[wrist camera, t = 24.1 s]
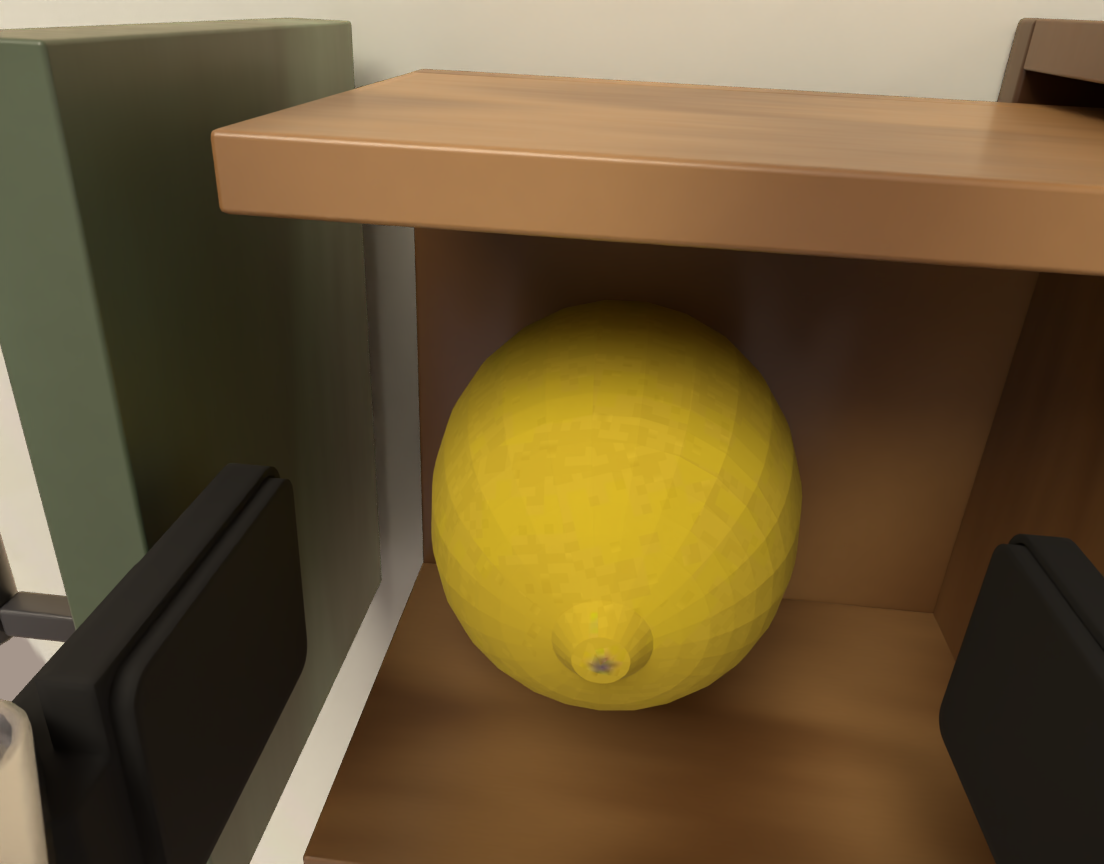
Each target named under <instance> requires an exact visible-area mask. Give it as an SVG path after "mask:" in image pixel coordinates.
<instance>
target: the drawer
mask: <svg viewBox="0 0 1104 864" xmlns="http://www.w3.org/2000/svg"><path fill="white" fill-rule="evenodd" d="M362 224H373V225H387V226H401V227H414V241H415V277H416V313H417V350H418V386H419V423H420V459H421V495H422V532H423V564H422V566H421V569H420V571H419V574H418V576H417V579H416V581H415V583H414V586H413V588H412V591H411V593H410V596H409V598H408V601H407V603H406V606H405V608H404V610H403V613H402V615H401V618H400V620H399V623H398V625H397V628H396V630H395V633H394V635H393V637H392V640H391V642H390V645H389V647H388V650H387V652H386V655H385V657H384V660H383V662H382V665H381V667H380V669H379V672H378V674H377V677H376V679H375V682H374V684H373V687H372V689H371V692H370V694H369V696H368V699H367V701H366V704H365V706H364V709H363V711H362V714H361V716H360V719H359V721H358V723H357V726H356V728H355V731H354V733H353V736H352V738H351V741H350V743H349V746H348V748H347V750H346V753H345V755H344V758H343V760H342V763H341V765H340V768H339V770H338V773H337V775H336V778H335V780H334V782H333V785H332V787H331V790H330V792H329V795H328V797H327V800H326V802H325V805H324V807H323V809H322V812H321V814H320V817H319V819H318V822H317V824H316V827H315V829H314V832H313V834H312V836H311V839H310V841H309V844H308V846H307V849H306V851H305V854H304V856H303V861H304V864H996V863H995V860H994V858H993V856H992V853H991V851H990V849H989V846H988V844H987V842H986V839H985V837H984V835H983V832H982V830H981V828H980V825H979V823H978V821H977V818H976V816H975V814H974V811H973V809H972V807H971V804H970V802H969V800H968V797H967V795H966V793H965V790H964V788H963V786H962V783H961V781H960V779H959V776H958V774H957V772H956V769H955V767H954V765H953V762H952V760H951V758H950V755H949V753H948V751H947V748H946V746H945V744H944V741H943V739H942V736H941V733H940V727H939V711H940V707H941V703H942V700H943V697H944V694H945V691H946V689H947V686H948V683H949V680H950V677H951V674H952V671H953V668H954V665H955V662H956V659H957V656H958V653H959V650H960V647H961V645H962V642H963V639H964V636H965V633H966V630H967V627H968V624H969V621H970V618H971V615H972V612H973V609H974V606H975V603H976V601H977V598H978V595H979V592H980V589H981V586H982V583H983V580H984V577H985V574H986V571H987V568H988V565H989V562H990V559H991V556H992V554H993V552H994V550H995V548H996V547H997V546H998V545H1000V544H1008V543H1009V541H1010V540H1011V539H1012V538H1013V537H1014V536H1015V535H1017V534H1030V535H1042V536H1053V537H1064V538H1069V539H1071V540H1072V541H1073V542H1075V543H1076V545H1077V546H1078V547H1079V548H1080V549H1081V550H1082V552H1083V553H1084V554H1085V555H1086V556H1087V558H1088V559H1089V560H1090V561H1091V562H1092V564H1093V565H1094V566H1095V567H1096V568H1097V570H1098V571H1099V572H1100V573H1101V574H1102V576H1103V577H1104V108H1091V107H1074V106H1057V105H1039V104H1022V103H1005V102H987V101H970V100H953V99H936V98H918V97H901V96H884V95H866V94H849V93H832V92H814V91H797V90H780V89H762V88H745V87H728V86H710V85H693V84H676V83H658V82H641V81H624V80H606V79H589V78H572V77H555V76H537V75H520V74H503V73H485V72H468V71H451V70H433V69H421V70H417V71H414V72H411V73H408V74H404V75H401V76H397V77H394V78H390V79H387V80H383V81H380V82H376V83H373V84H370V85H366V86H363V87H359V88H356V89H355V84H354V66H353V47H352V29H351V23H350V22H349V21H340V20H321V19H303V18H271V19H247V20H222V21H197V22H173V23H148V24H123V25H99V26H74V27H50V28H25V29H0V345H1V349H2V353H3V356H4V360H5V364H6V368H7V372H8V375H9V379H10V383H11V387H12V391H13V394H14V398H15V402H16V406H17V410H18V413H19V417H20V421H21V425H22V429H23V432H24V436H25V440H26V444H27V448H28V451H29V455H30V459H31V463H32V467H33V470H34V474H35V478H36V482H37V486H38V489H39V493H40V497H41V501H42V504H43V508H44V512H45V516H46V520H47V523H48V527H49V531H50V535H51V539H52V542H53V546H54V550H55V554H56V558H57V561H58V565H59V569H60V573H61V577H62V580H63V584H64V588H65V592H66V596H61V595H51V594H42V593H32V592H23V591H21V592H18V591H17V588H16V584H15V581H14V578H13V574H12V571H11V568H10V564H9V561H8V557H7V554H6V551H5V547H4V544H3V540H2V537H1V534H0V645H1V644H3V643H5V642H7V641H8V640H10V639H11V638H12V637H13V636H15V637H24V638H33V639H42V640H51V641H60V642H66V641H67V640H68V639H69V637H70V636H71V635H72V634H73V633H74V632H75V631H76V630H77V629H78V627H79V626H80V625H81V624H82V623H83V622H84V621H85V620H86V619H87V617H88V616H89V615H90V614H91V613H92V612H93V611H94V610H95V609H96V607H97V606H98V605H99V604H100V603H101V602H102V601H103V600H104V599H105V597H106V596H107V595H108V594H109V593H110V592H111V591H112V590H113V589H114V587H115V586H116V585H117V584H118V583H119V582H120V581H121V580H122V579H123V577H124V576H125V575H126V574H127V573H128V572H129V571H130V570H131V569H132V567H133V566H134V565H136V564H137V563H138V562H139V561H140V560H141V559H142V558H143V557H144V556H145V555H146V553H147V552H148V551H149V550H150V549H151V548H152V547H153V546H154V544H155V543H156V542H157V541H158V540H159V539H160V538H161V537H162V536H163V534H164V533H165V532H166V531H167V530H168V529H169V528H170V527H171V526H172V524H173V523H174V522H175V521H176V520H177V519H178V518H179V517H180V516H181V514H182V513H183V512H184V511H185V510H186V509H187V508H188V507H189V506H190V504H191V503H192V502H193V501H194V500H195V499H196V498H197V497H198V495H199V494H200V493H201V492H202V491H203V490H204V489H205V488H206V487H207V485H208V484H209V483H210V482H211V481H212V480H213V479H214V478H215V477H216V475H217V474H218V473H219V472H220V471H221V470H222V469H223V468H224V467H225V466H226V465H227V464H229V463H239V464H250V465H261V466H272V467H275V468H276V469H277V471H278V473H279V475H280V478H281V479H289V480H290V481H291V484H292V486H293V493H294V504H295V514H296V525H297V536H298V547H299V557H300V568H301V579H302V590H303V600H304V611H305V622H306V632H307V656H306V662H305V665H304V668H303V671H302V673H301V675H300V677H299V679H298V681H297V683H296V685H295V687H294V689H293V691H292V693H291V695H290V697H289V699H288V701H287V703H286V705H285V707H284V709H283V711H282V713H281V715H280V717H279V719H278V721H277V723H276V725H275V727H274V729H273V731H272V733H271V735H270V737H269V739H268V741H267V743H266V745H265V747H264V749H263V751H262V753H261V755H260V757H259V759H258V761H257V763H256V765H255V767H254V769H253V771H252V773H251V775H250V777H249V779H248V781H247V783H246V785H245V787H244V789H243V791H242V793H241V795H240V797H239V799H238V801H237V803H236V805H235V807H234V809H233V811H232V813H231V815H230V817H229V819H228V821H227V823H226V825H225V827H224V829H223V831H222V833H221V835H220V837H219V839H218V841H217V843H216V845H215V847H214V849H213V851H212V853H211V855H210V857H209V859H208V861H207V863H206V864H250V861H251V859H252V857H253V855H254V853H255V851H256V849H257V846H258V844H259V842H260V840H261V838H262V836H263V834H264V831H265V829H266V827H267V825H268V823H269V821H270V819H271V816H272V814H273V812H274V810H275V808H276V806H277V804H278V801H279V799H280V797H281V795H282V793H283V791H284V788H285V786H286V784H287V782H288V780H289V778H290V776H291V773H292V771H293V769H294V767H295V765H296V763H297V761H298V758H299V756H300V754H301V752H302V750H303V748H304V746H305V743H306V741H307V739H308V737H309V735H310V733H311V731H312V728H313V726H314V724H315V722H316V720H317V718H318V716H319V713H320V711H321V709H322V707H323V705H324V703H325V701H326V698H327V696H328V694H329V692H330V690H331V688H332V686H333V683H334V681H335V679H336V677H337V675H338V673H339V671H340V668H341V666H342V664H343V662H344V660H345V658H346V656H347V653H348V651H349V649H350V647H351V645H352V643H353V641H354V638H355V636H356V634H357V632H358V630H359V628H360V626H361V623H362V621H363V619H364V617H365V615H366V613H367V611H368V608H369V606H370V604H371V602H372V600H373V598H374V596H375V593H376V591H377V589H378V587H379V585H380V583H381V581H382V575H381V557H380V539H379V521H378V502H377V484H376V466H375V448H374V430H373V411H372V393H371V375H370V357H369V339H368V320H367V302H366V284H365V266H364V248H363V229H362ZM602 300H621V301H640V302H649V303H652V304H656V305H659V306H662V307H666V308H669V309H673V310H676V311H679V312H683V313H686V314H688V315H690V316H691V317H693V318H695V319H696V320H698V321H700V322H701V323H703V324H705V325H706V326H708V327H710V328H711V329H713V330H715V331H716V332H718V333H720V334H722V335H723V336H725V337H726V338H727V339H728V340H729V341H730V342H731V343H732V344H733V345H734V346H735V347H736V348H737V349H738V350H739V351H740V352H741V353H742V354H743V355H744V356H745V357H746V358H747V359H748V360H749V361H750V362H751V364H752V365H753V366H754V367H755V368H756V369H757V370H758V371H759V372H760V373H761V375H762V376H763V378H764V379H765V381H766V383H767V385H768V387H769V388H770V390H771V392H772V394H773V396H774V398H775V399H776V401H777V403H778V405H779V407H780V409H781V411H782V412H783V414H784V416H785V418H786V420H787V423H788V425H789V428H790V431H791V436H792V441H793V445H794V450H795V455H796V459H797V464H798V469H799V474H800V479H801V486H802V506H801V517H800V527H799V537H798V547H797V554H796V560H795V565H794V569H793V572H792V575H791V578H790V581H789V583H788V586H787V588H786V591H785V593H784V595H783V598H782V600H781V603H780V605H779V607H778V610H777V612H776V614H775V616H774V618H773V620H772V622H771V624H770V626H769V628H768V629H767V630H766V631H765V633H764V634H763V635H762V636H761V638H760V639H759V640H758V641H757V643H756V644H755V645H754V646H753V647H752V649H751V650H750V651H749V652H748V654H747V655H746V656H745V657H744V658H743V659H742V660H741V661H740V662H739V663H738V664H737V665H736V666H735V667H734V668H732V669H731V670H729V671H728V672H727V673H725V674H724V675H723V676H721V677H720V678H718V679H717V680H716V681H714V682H713V683H712V684H710V685H709V686H707V687H705V688H703V689H700V690H698V691H696V692H693V693H691V694H689V695H686V696H684V697H682V698H679V699H677V700H675V701H672V702H670V703H668V704H663V705H658V706H653V707H648V708H643V709H638V710H601V711H600V710H594V709H589V708H583V707H578V706H573V705H567V704H564V703H561V702H559V701H556V700H554V699H551V698H549V697H546V696H543V695H541V694H538V693H536V692H533V691H532V690H530V689H529V688H527V687H526V686H524V685H523V684H521V683H520V682H518V681H516V680H515V679H513V678H512V677H510V676H509V675H507V674H506V673H504V672H503V671H501V670H500V669H498V668H497V667H496V666H495V665H494V664H493V663H492V662H491V661H490V660H489V659H488V658H487V657H486V656H485V655H484V654H483V653H482V652H481V651H480V649H479V648H478V647H477V646H476V645H475V644H474V643H473V642H472V641H471V639H470V638H469V636H468V635H467V633H466V631H465V630H464V628H463V626H462V625H461V623H460V621H459V620H458V618H457V616H456V615H455V613H454V611H453V610H452V608H451V607H450V605H449V603H448V601H447V598H446V595H445V592H444V589H443V585H442V582H441V578H440V575H439V571H438V567H437V564H436V560H435V557H434V553H433V546H432V534H431V519H432V482H433V472H434V467H435V462H436V458H437V455H438V452H439V449H440V446H441V442H442V439H443V436H444V433H445V430H446V427H447V423H448V420H449V418H450V415H451V412H452V409H453V408H454V406H455V404H456V402H457V401H458V399H459V398H460V396H461V395H462V393H463V392H464V390H465V389H466V387H467V386H468V384H469V383H470V381H471V380H472V378H473V377H474V375H475V374H476V372H477V371H478V369H479V368H480V366H481V365H482V364H483V363H484V361H485V360H486V359H487V358H488V357H489V356H491V355H492V354H493V353H494V352H495V351H496V350H498V349H499V348H500V347H501V346H502V345H504V344H505V343H506V342H507V341H508V340H510V339H511V338H512V337H513V336H514V335H516V334H517V333H518V332H519V331H520V330H522V329H523V328H524V327H526V326H528V325H530V324H532V323H534V322H536V321H538V320H540V319H543V318H545V317H547V316H549V315H551V314H553V313H555V312H557V311H559V310H561V309H564V308H567V307H572V306H577V305H582V304H587V303H592V302H597V301H602Z"/></svg>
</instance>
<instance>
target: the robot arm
mask: <svg viewBox="0 0 1104 864" xmlns="http://www.w3.org/2000/svg"><path fill="white" fill-rule="evenodd" d="M306 656H307V632H306V622H305V611H304V600H303V590H302V579H301V568H300V557H299V547H298V536H297V525H296V514H295V504H294V493H293V486H292V484H291V481H290V480H289V479H281V478H280V475H279V473H278V471H277V469H276V468H275V467H272V466H261V465H250V464H239V463H229V464H227V465H226V466H225V467H224V468H223V469H222V470H221V471H220V472H219V473H218V474H217V475H216V477H215V478H214V479H213V480H212V481H211V482H210V483H209V484H208V485H207V487H206V488H205V489H204V490H203V491H202V492H201V493H200V494H199V495H198V497H197V498H196V499H195V500H194V501H193V502H192V503H191V504H190V506H189V507H188V508H187V509H186V510H185V511H184V512H183V513H182V514H181V516H180V517H179V518H178V519H177V520H176V521H175V522H174V523H173V524H172V526H171V527H170V528H169V529H168V530H167V531H166V532H165V533H164V534H163V536H162V537H161V538H160V539H159V540H158V541H157V542H156V543H155V544H154V546H153V547H152V548H151V549H150V550H149V551H148V552H147V553H146V555H145V556H144V557H143V558H142V559H141V560H140V561H139V562H138V563H137V564H136V565H134V566H133V567H132V569H131V570H130V571H129V572H128V573H127V574H126V575H125V576H124V577H123V579H122V580H121V581H120V582H119V583H118V584H117V585H116V586H115V587H114V589H113V590H112V591H111V592H110V593H109V594H108V595H107V596H106V597H105V599H104V600H103V601H102V602H101V603H100V604H99V605H98V606H97V607H96V609H95V610H94V611H93V612H92V613H91V614H90V615H89V616H88V617H87V619H86V620H85V621H84V622H83V623H82V624H81V625H80V626H79V627H78V629H77V630H76V631H75V632H74V633H73V634H72V635H71V636H70V637H69V639H68V640H67V641H66V642H65V643H64V644H63V645H62V646H61V647H60V649H59V650H58V651H57V652H56V653H55V654H54V655H53V656H52V657H51V659H50V660H49V661H48V662H47V663H46V664H45V665H44V666H43V667H42V669H41V670H40V671H39V672H38V673H37V674H36V675H35V676H34V677H33V679H32V680H31V681H30V682H29V683H28V684H27V685H26V686H25V687H24V689H23V690H22V691H21V692H20V693H19V694H18V695H17V696H16V697H15V699H14V700H13V701H12V702H11V701H6V700H2V699H0V864H206V863H207V861H208V859H209V857H210V855H211V853H212V851H213V849H214V847H215V845H216V843H217V841H218V839H219V837H220V835H221V833H222V831H223V829H224V827H225V825H226V823H227V821H228V819H229V817H230V815H231V813H232V811H233V809H234V807H235V805H236V803H237V801H238V799H239V797H240V795H241V793H242V791H243V789H244V787H245V785H246V783H247V781H248V779H249V777H250V775H251V773H252V771H253V769H254V767H255V765H256V763H257V761H258V759H259V757H260V755H261V753H262V751H263V749H264V747H265V745H266V743H267V741H268V739H269V737H270V735H271V733H272V731H273V729H274V727H275V725H276V723H277V721H278V719H279V717H280V715H281V713H282V711H283V709H284V707H285V705H286V703H287V701H288V699H289V697H290V695H291V693H292V691H293V689H294V687H295V685H296V683H297V681H298V679H299V677H300V675H301V673H302V671H303V668H304V665H305V662H306ZM939 727H940V733H941V736H942V739H943V741H944V744H945V746H946V748H947V751H948V753H949V755H950V758H951V760H952V762H953V765H954V767H955V769H956V772H957V774H958V776H959V779H960V781H961V783H962V786H963V788H964V790H965V793H966V795H967V797H968V800H969V802H970V804H971V807H972V809H973V811H974V814H975V816H976V818H977V821H978V823H979V825H980V828H981V830H982V832H983V835H984V837H985V839H986V842H987V844H988V846H989V849H990V851H991V853H992V856H993V858H994V860H995V863H996V864H1104V577H1103V576H1102V574H1101V573H1100V572H1099V571H1098V570H1097V568H1096V567H1095V566H1094V565H1093V564H1092V562H1091V561H1090V560H1089V559H1088V558H1087V556H1086V555H1085V554H1084V553H1083V552H1082V550H1081V549H1080V548H1079V547H1078V546H1077V545H1076V543H1075V542H1073V541H1072V540H1071V539H1069V538H1064V537H1053V536H1042V535H1030V534H1017V535H1015V536H1014V537H1013V538H1012V539H1011V540H1010V541H1009V543H1008V544H1000V545H998V546H997V547H996V548H995V550H994V552H993V554H992V556H991V559H990V562H989V565H988V568H987V571H986V574H985V577H984V580H983V583H982V586H981V589H980V592H979V595H978V598H977V601H976V603H975V606H974V609H973V612H972V615H971V618H970V621H969V624H968V627H967V630H966V633H965V636H964V639H963V642H962V645H961V647H960V650H959V653H958V656H957V659H956V662H955V665H954V668H953V671H952V674H951V677H950V680H949V683H948V686H947V689H946V691H945V694H944V697H943V700H942V703H941V707H940V711H939Z"/></svg>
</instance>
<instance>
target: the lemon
mask: <svg viewBox="0 0 1104 864" xmlns="http://www.w3.org/2000/svg"><path fill="white" fill-rule="evenodd" d="M801 506H802V486H801V479H800V474H799V469H798V464H797V459H796V455H795V450H794V445H793V441H792V436H791V431H790V428H789V425H788V423H787V420H786V418H785V416H784V414H783V412H782V411H781V409H780V407H779V405H778V403H777V401H776V399H775V398H774V396H773V394H772V392H771V390H770V388H769V387H768V385H767V383H766V381H765V379H764V378H763V376H762V375H761V373H760V372H759V371H758V370H757V369H756V368H755V367H754V366H753V365H752V364H751V362H750V361H749V360H748V359H747V358H746V357H745V356H744V355H743V354H742V353H741V352H740V351H739V350H738V349H737V348H736V347H735V346H734V345H733V344H732V343H731V342H730V341H729V340H728V339H727V338H726V337H725V336H723V335H722V334H720V333H718V332H716V331H715V330H713V329H711V328H710V327H708V326H706V325H705V324H703V323H701V322H700V321H698V320H696V319H695V318H693V317H691V316H690V315H688V314H686V313H683V312H679V311H676V310H673V309H669V308H666V307H662V306H659V305H656V304H652V303H649V302H640V301H621V300H602V301H597V302H592V303H587V304H582V305H577V306H572V307H567V308H564V309H561V310H559V311H557V312H555V313H553V314H551V315H549V316H547V317H545V318H543V319H540V320H538V321H536V322H534V323H532V324H530V325H528V326H526V327H524V328H523V329H522V330H520V331H519V332H518V333H517V334H516V335H514V336H513V337H512V338H511V339H510V340H508V341H507V342H506V343H505V344H504V345H502V346H501V347H500V348H499V349H498V350H496V351H495V352H494V353H493V354H492V355H491V356H489V357H488V358H487V359H486V360H485V361H484V363H483V364H482V365H481V366H480V368H479V369H478V371H477V372H476V374H475V375H474V377H473V378H472V380H471V381H470V383H469V384H468V386H467V387H466V389H465V390H464V392H463V393H462V395H461V396H460V398H459V399H458V401H457V402H456V404H455V406H454V408H453V409H452V412H451V415H450V418H449V420H448V423H447V427H446V430H445V433H444V436H443V439H442V442H441V446H440V449H439V452H438V455H437V458H436V462H435V467H434V472H433V482H432V519H431V534H432V546H433V553H434V557H435V560H436V564H437V567H438V571H439V575H440V578H441V582H442V585H443V589H444V592H445V595H446V598H447V601H448V603H449V605H450V607H451V608H452V610H453V611H454V613H455V615H456V616H457V618H458V620H459V621H460V623H461V625H462V626H463V628H464V630H465V631H466V633H467V635H468V636H469V638H470V639H471V641H472V642H473V643H474V644H475V645H476V646H477V647H478V648H479V649H480V651H481V652H482V653H483V654H484V655H485V656H486V657H487V658H488V659H489V660H490V661H491V662H492V663H493V664H494V665H495V666H496V667H497V668H498V669H500V670H501V671H503V672H504V673H506V674H507V675H509V676H510V677H512V678H513V679H515V680H516V681H518V682H520V683H521V684H523V685H524V686H526V687H527V688H529V689H530V690H532V691H533V692H536V693H538V694H541V695H543V696H546V697H549V698H551V699H554V700H556V701H559V702H561V703H564V704H567V705H573V706H578V707H583V708H589V709H594V710H600V711H601V710H638V709H643V708H648V707H653V706H658V705H663V704H668V703H670V702H672V701H675V700H677V699H679V698H682V697H684V696H686V695H689V694H691V693H693V692H696V691H698V690H700V689H703V688H705V687H707V686H709V685H710V684H712V683H713V682H714V681H716V680H717V679H718V678H720V677H721V676H723V675H724V674H725V673H727V672H728V671H729V670H731V669H732V668H734V667H735V666H736V665H737V664H738V663H739V662H740V661H741V660H742V659H743V658H744V657H745V656H746V655H747V654H748V652H749V651H750V650H751V649H752V647H753V646H754V645H755V644H756V643H757V641H758V640H759V639H760V638H761V636H762V635H763V634H764V633H765V631H766V630H767V629H768V628H769V626H770V624H771V622H772V620H773V618H774V616H775V614H776V612H777V610H778V607H779V605H780V603H781V600H782V598H783V595H784V593H785V591H786V588H787V586H788V583H789V581H790V578H791V575H792V572H793V569H794V565H795V560H796V554H797V547H798V537H799V527H800V517H801Z"/></svg>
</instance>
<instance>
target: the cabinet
mask: <svg viewBox="0 0 1104 864" xmlns="http://www.w3.org/2000/svg"><path fill="white" fill-rule="evenodd" d="M998 102H1005V103H1022V104H1039V105H1057V106H1074V107H1091V108H1104V21H1091V20H1065V19H1039V18H1024V19H1021V20H1020V21H1019V23H1018V26H1017V30H1016V34H1015V37H1014V41H1013V45H1012V49H1011V52H1010V56H1009V60H1008V64H1007V68H1006V71H1005V75H1004V79H1003V83H1002V87H1001V90H1000V94H999V98H998Z"/></svg>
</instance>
